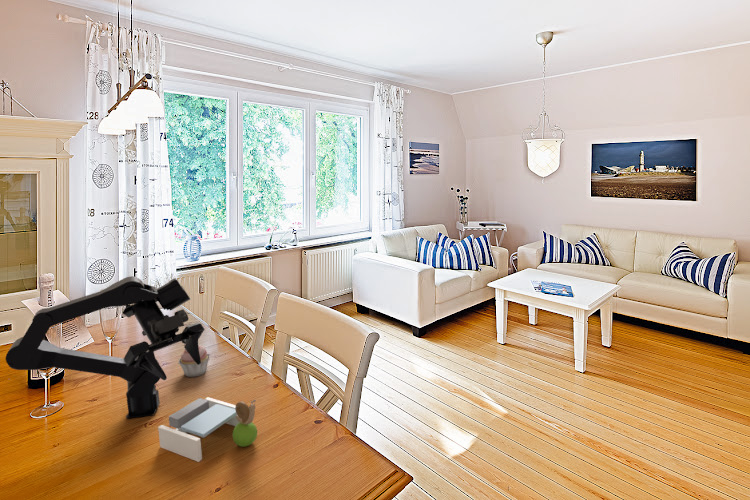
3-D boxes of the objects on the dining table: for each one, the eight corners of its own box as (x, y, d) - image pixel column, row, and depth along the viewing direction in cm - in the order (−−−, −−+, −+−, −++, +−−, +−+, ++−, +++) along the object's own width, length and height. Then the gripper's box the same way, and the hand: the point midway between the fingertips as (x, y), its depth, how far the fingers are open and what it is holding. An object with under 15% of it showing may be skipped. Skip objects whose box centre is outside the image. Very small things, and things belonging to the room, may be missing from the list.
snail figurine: (247, 456, 95) (244, 406, 93) (228, 446, 98) (224, 398, 96) (266, 443, 99) (263, 395, 97) (246, 434, 103) (243, 387, 100)
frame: (198, 461, 93) (196, 441, 92) (160, 447, 98) (158, 427, 97) (245, 426, 106) (244, 407, 105) (209, 415, 111) (208, 397, 110)
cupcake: (214, 365, 140) (212, 335, 138) (207, 378, 131) (204, 347, 129) (184, 366, 139) (181, 337, 137) (175, 380, 130) (172, 349, 128)
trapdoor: (204, 441, 94) (203, 431, 94) (166, 427, 99) (165, 418, 99) (238, 416, 103) (238, 407, 103) (202, 405, 109) (202, 396, 108)
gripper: (123, 314, 97) (157, 371, 94) (196, 292, 113) (227, 341, 109) (110, 339, 103) (141, 394, 100) (181, 316, 119) (211, 362, 115)
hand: (183, 371), depth 106 cm, fingers open, 9 cm apart
